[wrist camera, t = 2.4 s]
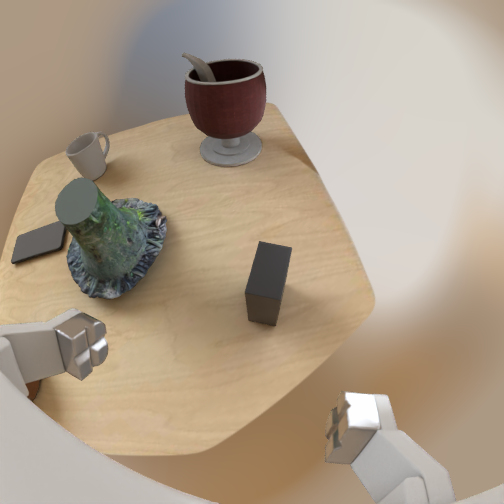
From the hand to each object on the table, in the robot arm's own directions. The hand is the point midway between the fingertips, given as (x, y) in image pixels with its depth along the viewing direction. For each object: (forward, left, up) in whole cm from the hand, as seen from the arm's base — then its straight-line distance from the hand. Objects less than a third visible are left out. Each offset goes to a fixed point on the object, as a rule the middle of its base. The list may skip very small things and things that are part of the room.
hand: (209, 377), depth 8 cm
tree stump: (+27, -11, -24) cm, 38 cm away
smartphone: (+46, -4, -24) cm, 52 cm away
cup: (+46, -25, -24) cm, 58 cm away
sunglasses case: (+2, -12, -24) cm, 27 cm away
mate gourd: (+21, -39, -24) cm, 51 cm away
